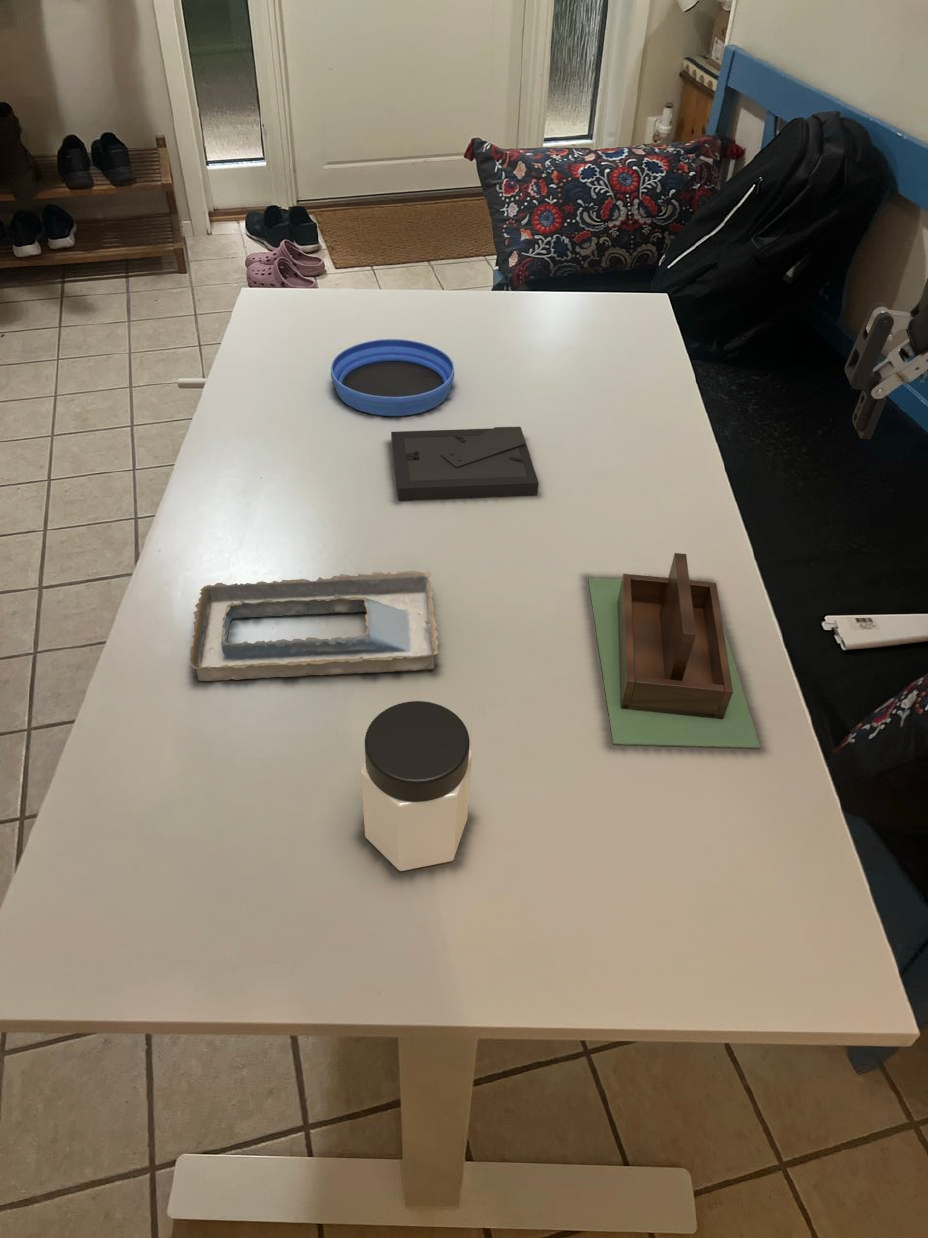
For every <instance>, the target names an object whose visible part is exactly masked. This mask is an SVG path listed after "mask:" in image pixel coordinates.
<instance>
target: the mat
mask: <svg viewBox="0 0 928 1238" xmlns="http://www.w3.org/2000/svg"><path fill="white" fill-rule="evenodd" d="M587 582H588V589H589V594H590V601H591V607H592V612H593V613H592V615H593V621H594V628H595V635H596V640H597V647H598V655H599V661H600V667H601V674H602V680H603V687H604V693H605V694H604V695H605V700H606V707H607V713H608V714H607V715H608V721H609V728H610V734H611V740H612V745H614V746H615V745H616V746H645V747H647V746H648V747H649V746H651V747H683V748H684V747H688V748H689V747H690V748H720V749H721V748H722V749H755V750H756V749H758V750H759V749H761V746H760V742H759V738H758V736H757V732H756V729H755V725H754V722H753V719H752V716H751V713H750V710H749V706H748V703H747V698H746V695H745V693H744V689H743V685H742V682H741V680H740V675H739V673H738V670H737V666H736V663H735V660H734V656H733V653H732V650H731V646H730V643H729V639H728V637H727V634H726V633H727V632H726V630H725V627H724V626H723V630H724V636H725V643H726V649H727V655H728V662H729V668H730V675H731V681H732V688H733V694H732V697H731V699H730V702H729V705H728V708H727V710H726V713H725V716H724V718H723V719H716V718H706V717H696V716H687V715H677V714H668V713H658V712H649V711H639V710H630V709H621V704H620V669H619V634H618V596H619V591H620V587H621V582H622V578H620V579H619V578H591V577H590V578H589V577H588V578H587Z"/></svg>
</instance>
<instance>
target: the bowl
mask: <svg viewBox="0 0 928 1238" xmlns="http://www.w3.org/2000/svg"><path fill="white" fill-rule="evenodd" d="M330 376H331V381H332V383H333V386H334V387H335V391H336V393H337V395H338V397H339V398H340V399H341V400H342V402H344V404H346V405H348V406H349V407H351V408H353V409H355V410H357V411H360V412H363V413H366V414H371V415H376V416H384V417H385V416H386V417H402V416H411V415H416V414H417V415H418V414H422V413H424V412H427V411H429V410H431V409H434V408H436V407H438V406H439V405H440V404H442V403H443V402H444V401H445V400H446V399H447V398H448V396H449V394H450V391H451V387H452V384H453V383H454V378H455V365H454V361H453V360H452V359H451V358H450V356H449V355H448V354H446V353H445V352H444V351H442V350H441V349H439V348H436V347H435V346H432V345H429V344H428V343H424V342H421V341H420V342H419V341H415V340H409V339H399V338H398V339H397V338H387V339H386V338H385V339H384V338H383V339H376V340H369V341H365V342H360V343H358V344H355V345H352V346H349V347H348V348H346V349H344V350H343V351H341V352H340V353H338V354H337V355H336V356H335V357H334V358H333V360H332V362H331V364H330Z"/></svg>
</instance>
